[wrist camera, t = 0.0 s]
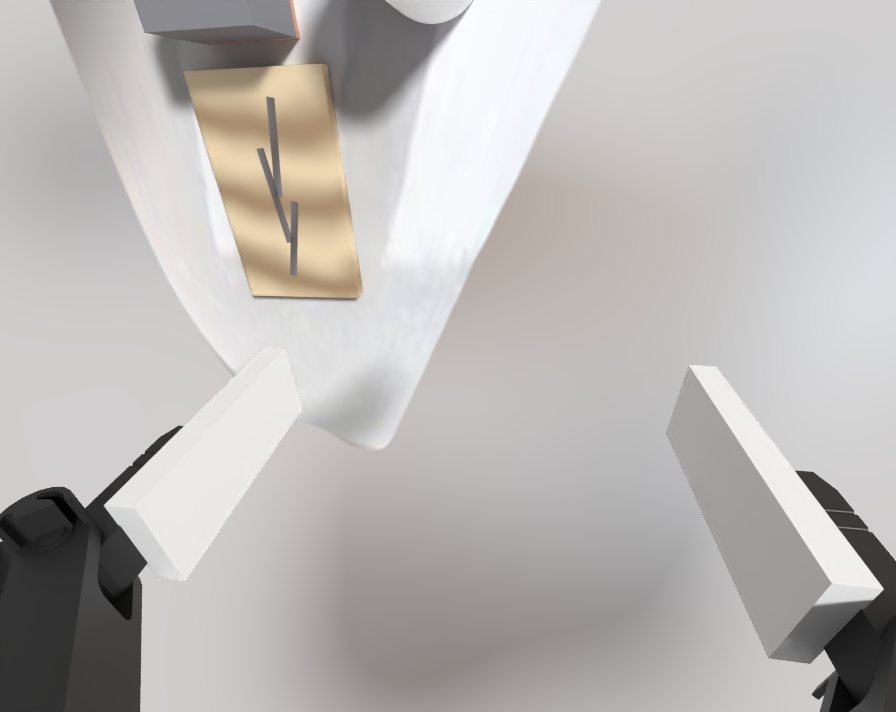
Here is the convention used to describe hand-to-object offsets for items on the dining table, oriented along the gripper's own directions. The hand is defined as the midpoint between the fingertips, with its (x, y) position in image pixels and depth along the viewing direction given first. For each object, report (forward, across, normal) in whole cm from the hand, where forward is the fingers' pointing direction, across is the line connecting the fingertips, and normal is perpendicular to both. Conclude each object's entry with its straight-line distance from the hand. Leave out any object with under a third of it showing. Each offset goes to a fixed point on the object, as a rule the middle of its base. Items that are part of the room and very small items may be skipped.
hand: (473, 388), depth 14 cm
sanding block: (+28, -20, +15) cm, 38 cm away
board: (+28, -20, +1) cm, 35 cm away
